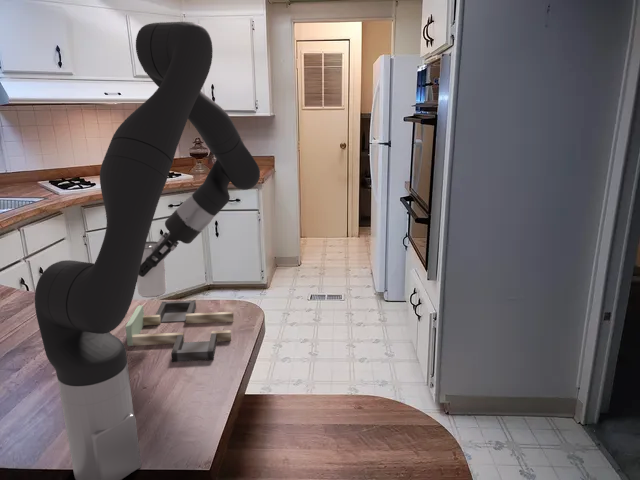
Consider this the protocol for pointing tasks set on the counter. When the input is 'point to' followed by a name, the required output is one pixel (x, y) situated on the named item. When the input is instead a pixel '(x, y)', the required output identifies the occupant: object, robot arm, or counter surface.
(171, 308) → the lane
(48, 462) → the counter surface
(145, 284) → the can
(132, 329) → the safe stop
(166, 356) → the counter surface
